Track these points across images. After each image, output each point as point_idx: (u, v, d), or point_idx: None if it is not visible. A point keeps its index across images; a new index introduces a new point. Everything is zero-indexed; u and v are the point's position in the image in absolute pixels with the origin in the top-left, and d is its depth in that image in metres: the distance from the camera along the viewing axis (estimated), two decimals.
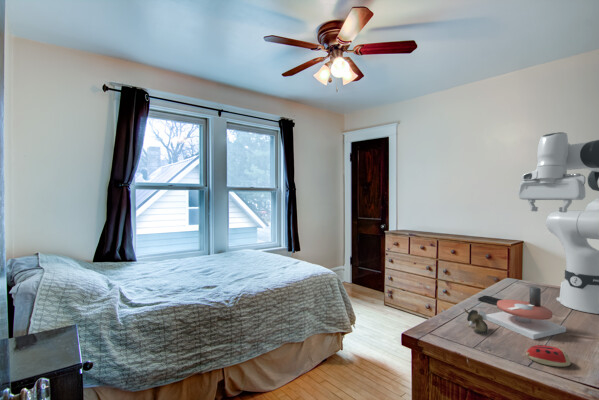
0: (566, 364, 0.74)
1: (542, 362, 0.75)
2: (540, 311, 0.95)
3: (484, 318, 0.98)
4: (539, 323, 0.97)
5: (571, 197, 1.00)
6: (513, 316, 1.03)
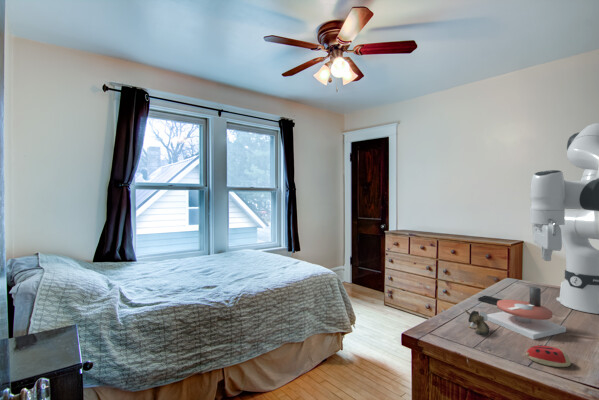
0: (566, 364, 0.74)
1: (542, 362, 0.75)
2: (540, 311, 0.95)
3: (485, 319, 0.97)
4: (539, 323, 0.97)
5: (545, 247, 0.90)
6: (513, 316, 1.03)
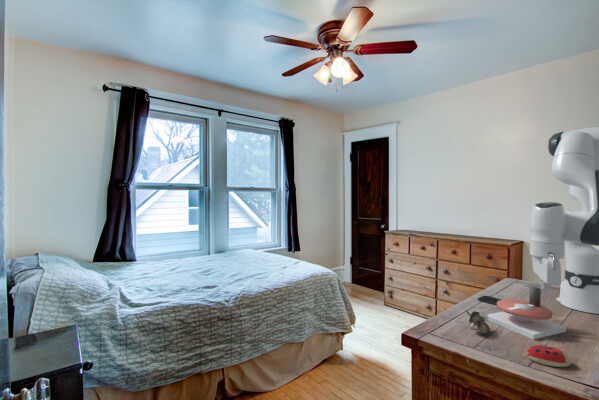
0: (566, 364, 0.74)
1: (541, 362, 0.75)
2: (540, 311, 0.95)
3: (486, 320, 0.96)
4: (539, 323, 0.97)
5: (544, 281, 0.90)
6: (513, 316, 1.03)
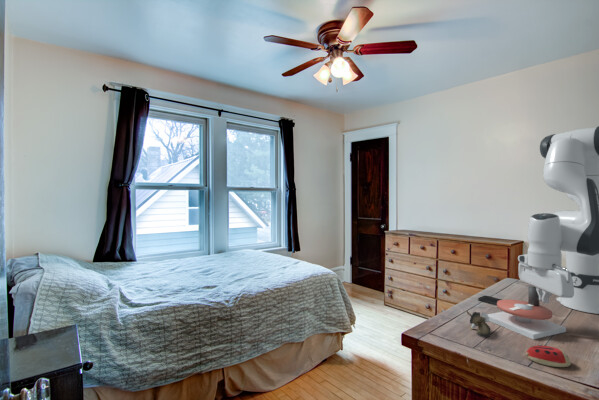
0: (566, 365, 0.74)
1: (541, 362, 0.75)
2: (540, 311, 0.95)
3: (487, 320, 0.96)
4: (539, 323, 0.97)
5: (556, 294, 0.90)
6: (513, 316, 1.03)
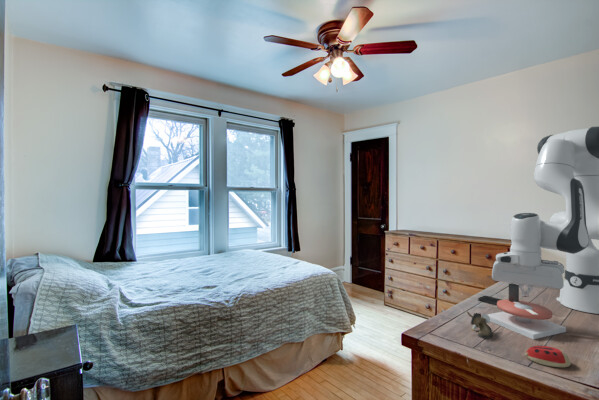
0: (565, 365, 0.74)
1: (541, 362, 0.75)
2: (535, 306, 0.99)
3: (488, 321, 0.95)
4: (539, 323, 0.97)
5: (555, 287, 0.97)
6: (513, 316, 1.03)
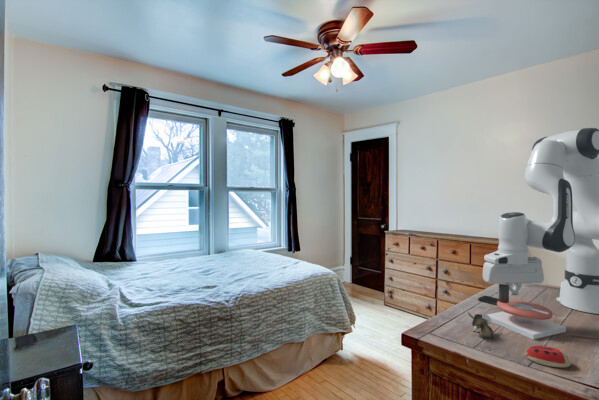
0: (565, 365, 0.73)
1: (540, 362, 0.75)
2: (524, 303, 1.02)
3: (489, 322, 0.94)
4: (539, 323, 0.97)
5: (538, 281, 1.03)
6: (513, 316, 1.03)
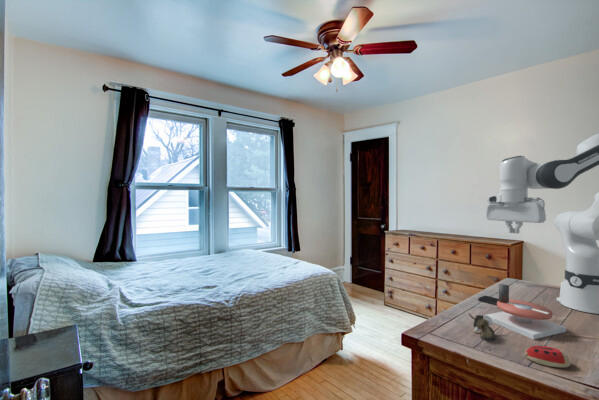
0: (565, 365, 0.73)
1: (540, 362, 0.75)
2: (524, 303, 1.02)
3: (490, 323, 0.93)
4: (539, 323, 0.97)
5: (533, 221, 1.04)
6: (513, 316, 1.03)
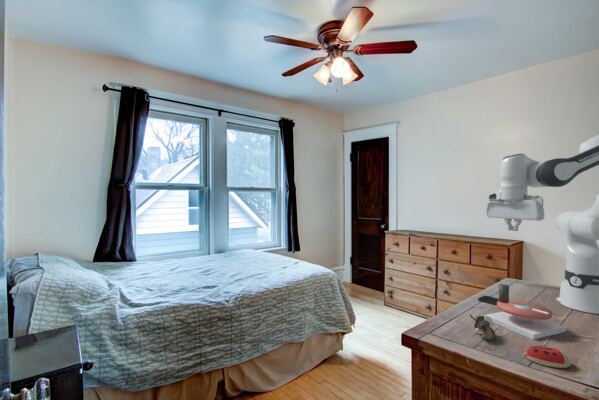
0: (565, 365, 0.73)
1: (539, 362, 0.75)
2: (524, 303, 1.02)
3: (491, 324, 0.93)
4: (539, 323, 0.97)
5: (531, 218, 1.05)
6: (513, 316, 1.03)
